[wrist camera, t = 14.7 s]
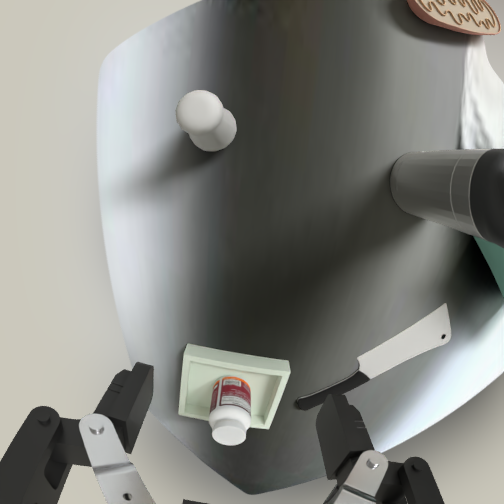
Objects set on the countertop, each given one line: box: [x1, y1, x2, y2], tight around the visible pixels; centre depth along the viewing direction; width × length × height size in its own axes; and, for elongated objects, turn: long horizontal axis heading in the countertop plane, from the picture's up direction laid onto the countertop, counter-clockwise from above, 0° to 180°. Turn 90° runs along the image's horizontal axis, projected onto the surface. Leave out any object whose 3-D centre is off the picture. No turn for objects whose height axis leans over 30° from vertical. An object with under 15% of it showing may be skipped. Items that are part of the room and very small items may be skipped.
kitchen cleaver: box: [297, 303, 451, 411], centre depth 44 cm, size 31×2×10 cm
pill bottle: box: [209, 375, 251, 445], centre depth 39 cm, size 6×6×11 cm
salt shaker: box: [176, 90, 237, 151], centre depth 29 cm, size 6×6×13 cm
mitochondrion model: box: [407, 0, 501, 35], centre depth 26 cm, size 23×10×5 cm, turn 106°
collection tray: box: [178, 343, 290, 429], centre depth 44 cm, size 16×14×3 cm
